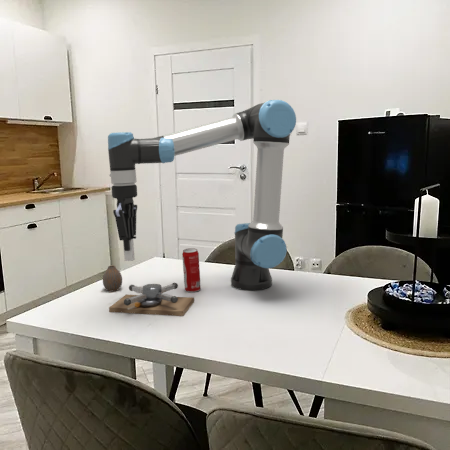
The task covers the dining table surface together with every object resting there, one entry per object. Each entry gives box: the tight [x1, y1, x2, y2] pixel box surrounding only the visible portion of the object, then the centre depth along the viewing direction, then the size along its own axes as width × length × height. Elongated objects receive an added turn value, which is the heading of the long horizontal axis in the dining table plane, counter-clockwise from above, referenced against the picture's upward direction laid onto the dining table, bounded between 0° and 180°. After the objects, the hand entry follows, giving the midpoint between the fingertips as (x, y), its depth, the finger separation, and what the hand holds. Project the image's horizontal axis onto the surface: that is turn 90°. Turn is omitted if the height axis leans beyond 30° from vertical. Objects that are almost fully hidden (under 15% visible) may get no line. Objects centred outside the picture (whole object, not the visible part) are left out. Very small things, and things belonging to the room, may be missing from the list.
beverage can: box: [181, 247, 202, 293], centre depth 161 cm, size 6×6×15 cm
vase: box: [102, 264, 123, 292], centre depth 164 cm, size 7×7×9 cm
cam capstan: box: [124, 282, 179, 307], centre depth 145 cm, size 22×22×5 cm
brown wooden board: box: [108, 294, 195, 317], centre depth 145 cm, size 24×14×2 cm, turn 79°
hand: (129, 260), depth 141 cm, fingers closed
